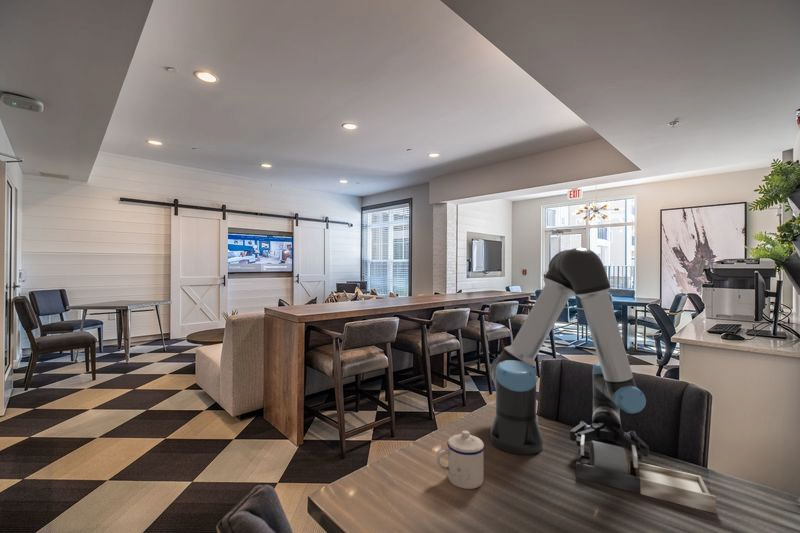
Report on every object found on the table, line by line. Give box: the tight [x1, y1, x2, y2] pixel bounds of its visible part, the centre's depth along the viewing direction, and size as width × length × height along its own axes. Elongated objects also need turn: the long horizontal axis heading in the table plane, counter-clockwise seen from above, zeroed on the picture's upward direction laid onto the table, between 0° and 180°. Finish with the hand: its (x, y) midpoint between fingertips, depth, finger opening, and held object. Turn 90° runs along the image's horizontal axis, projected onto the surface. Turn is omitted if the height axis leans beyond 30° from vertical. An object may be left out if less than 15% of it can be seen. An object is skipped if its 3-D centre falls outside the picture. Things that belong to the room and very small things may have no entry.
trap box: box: [575, 448, 717, 514], centre depth 87 cm, size 27×13×4 cm, turn 60°
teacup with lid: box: [435, 430, 485, 490], centre depth 87 cm, size 12×9×12 cm
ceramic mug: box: [588, 440, 631, 475], centre depth 91 cm, size 11×8×8 cm
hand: (608, 455), depth 87 cm, fingers open, 11 cm apart
